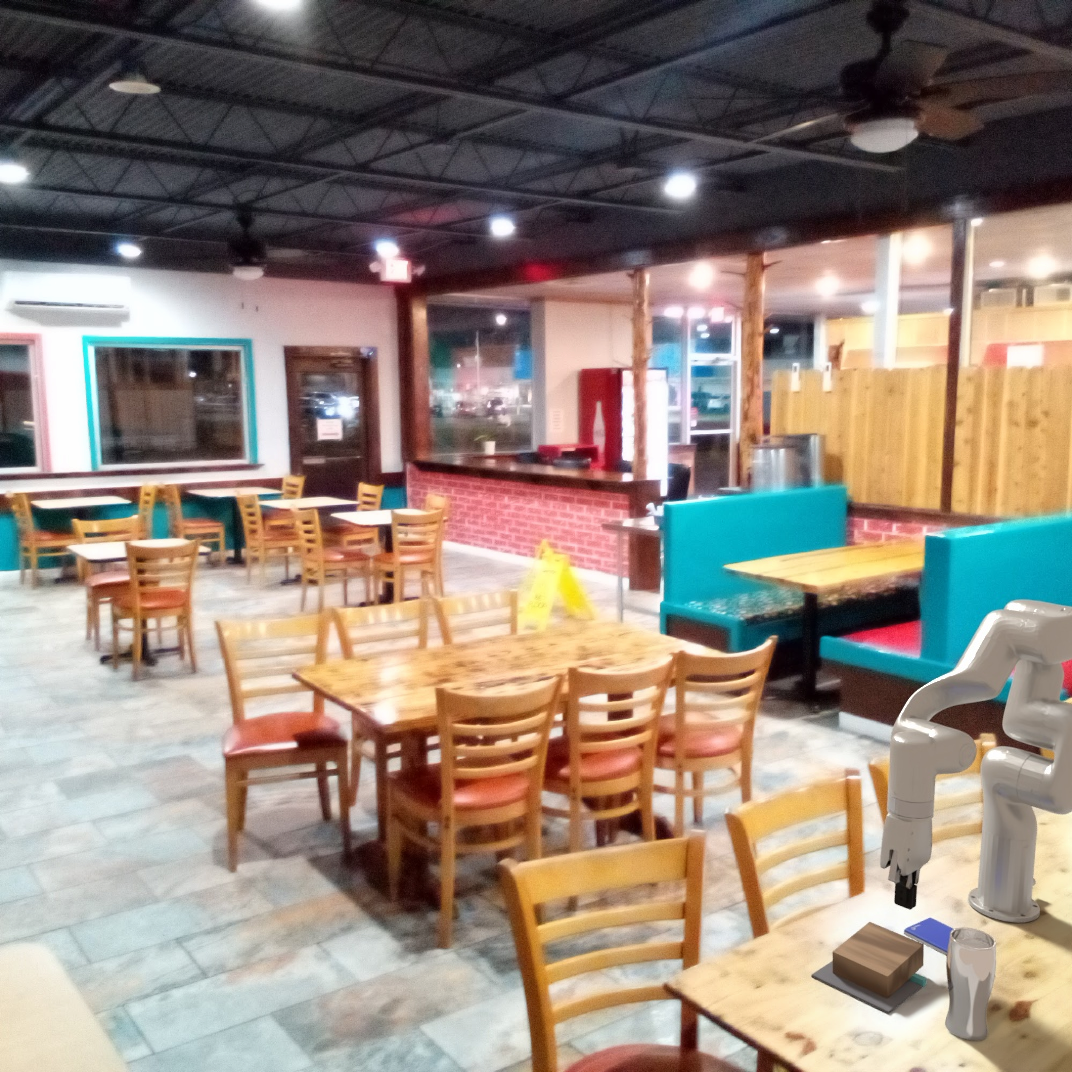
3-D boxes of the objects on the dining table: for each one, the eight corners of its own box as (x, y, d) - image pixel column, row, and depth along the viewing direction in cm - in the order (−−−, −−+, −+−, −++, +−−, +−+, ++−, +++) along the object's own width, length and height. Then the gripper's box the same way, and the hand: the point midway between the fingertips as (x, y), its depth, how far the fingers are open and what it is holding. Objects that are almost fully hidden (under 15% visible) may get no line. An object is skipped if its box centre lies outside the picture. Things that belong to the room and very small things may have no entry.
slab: (869, 921, 178) (832, 951, 170) (923, 944, 171) (887, 976, 163) (869, 942, 179) (832, 972, 171) (923, 965, 171) (887, 998, 164)
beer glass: (967, 1047, 152) (973, 953, 150) (932, 1021, 158) (938, 931, 156) (1000, 1036, 155) (1008, 944, 153) (965, 1011, 161) (971, 923, 159)
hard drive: (903, 928, 185) (965, 959, 175) (931, 916, 189) (992, 945, 179) (903, 936, 185) (965, 967, 175) (930, 924, 190) (992, 954, 179)
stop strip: (850, 950, 179) (851, 944, 179) (926, 984, 168) (926, 978, 168) (847, 953, 178) (847, 946, 178) (922, 987, 168) (923, 980, 168)
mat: (846, 953, 178) (846, 951, 178) (921, 988, 167) (922, 985, 167) (811, 976, 170) (811, 974, 170) (888, 1013, 160) (888, 1011, 160)
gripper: (911, 787, 181) (905, 884, 183) (867, 810, 171) (862, 911, 173) (951, 799, 175) (946, 899, 178) (909, 823, 165) (904, 928, 168)
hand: (905, 905), depth 176 cm, fingers closed
